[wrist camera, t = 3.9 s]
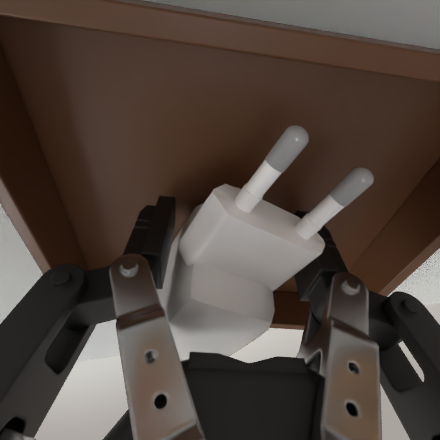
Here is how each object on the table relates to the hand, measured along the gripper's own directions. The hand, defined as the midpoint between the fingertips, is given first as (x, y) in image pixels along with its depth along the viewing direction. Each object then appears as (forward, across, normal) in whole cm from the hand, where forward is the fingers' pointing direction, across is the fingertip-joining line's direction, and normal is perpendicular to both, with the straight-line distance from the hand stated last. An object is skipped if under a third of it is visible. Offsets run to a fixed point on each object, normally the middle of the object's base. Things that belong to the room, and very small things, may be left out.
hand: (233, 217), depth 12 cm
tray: (+1, 0, 0) cm, 1 cm away
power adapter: (+1, 0, 0) cm, 1 cm away
